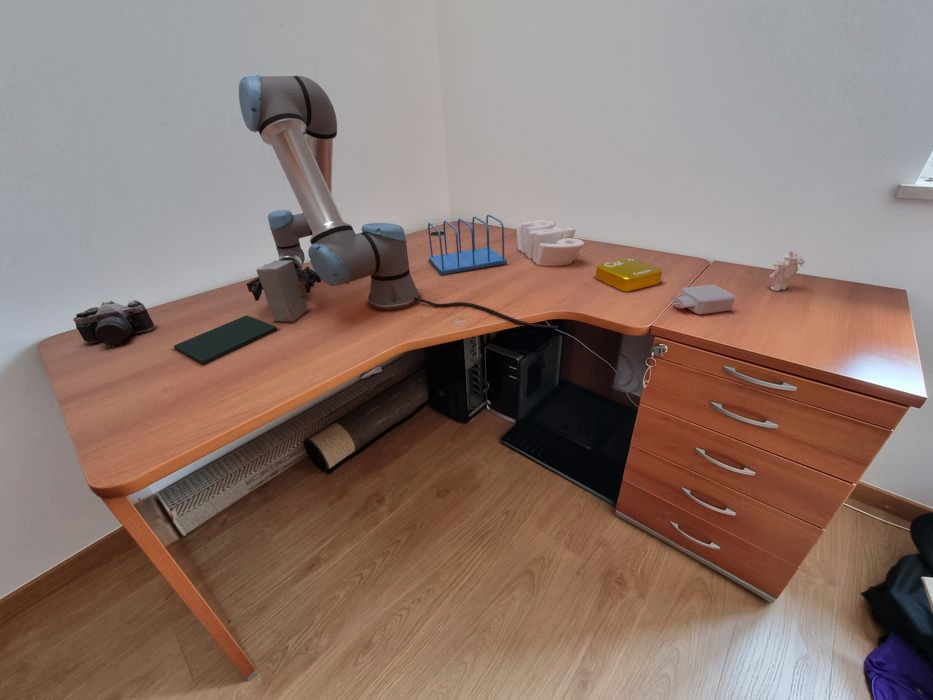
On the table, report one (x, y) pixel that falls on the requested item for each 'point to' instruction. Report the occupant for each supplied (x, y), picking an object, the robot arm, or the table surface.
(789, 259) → the hat wearing toy figure
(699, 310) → the charger
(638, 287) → the element tile
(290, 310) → the cosmetic box
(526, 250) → the wavy white extrusion
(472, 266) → the file sorter
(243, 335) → the desk mat
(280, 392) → the table surface
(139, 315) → the camera
